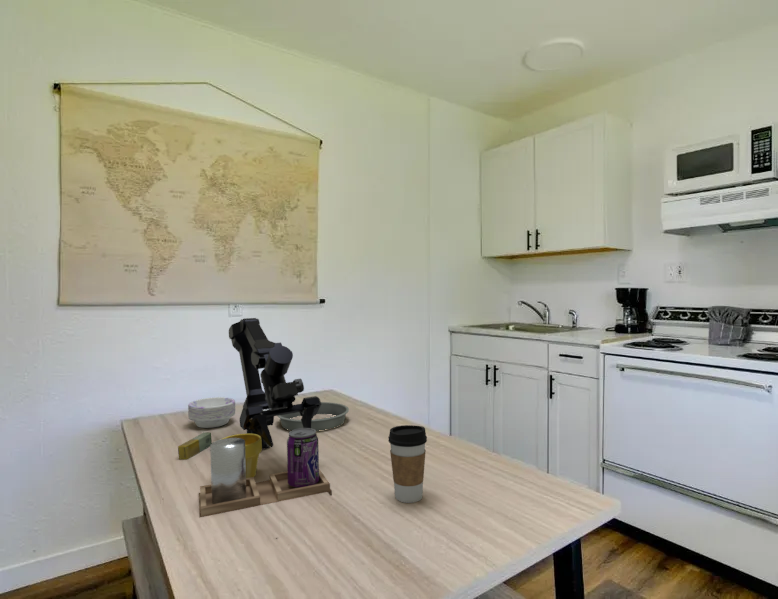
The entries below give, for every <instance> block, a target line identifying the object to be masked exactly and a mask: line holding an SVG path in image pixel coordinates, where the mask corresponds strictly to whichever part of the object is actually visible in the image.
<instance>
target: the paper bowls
mask: <svg viewBox="0 0 778 599" xmlns="http://www.w3.org/2000/svg"><path fill="white" fill-rule="evenodd" d="M187 406H188V407H187V410H188V412H187V413H188V414H187V416H188V419H189V420H191V421H193V422H194V424H195V425H196V426H197V427H199V428H202V429H212V428H214V429H215V428H220V427H222V426H225V425H226V424H228V423H229V421H230V419H231V418H232V417H234V416H235V415H236V400H235V399H233V398H231V397H224V396H223V397H221V396H220V397H219V396H218V397H207V398H199V399H196V400H193V401H191V402H189V403H188V405H187Z"/></svg>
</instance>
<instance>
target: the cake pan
mask: <svg viewBox="0 0 778 599" xmlns="http://www.w3.org/2000/svg"><path fill="white" fill-rule="evenodd" d="M349 410H350V409H349V407H348V406H346V405H345V404H342V403H338V402H330V401H329V402H325V401H321V406H320V408H319V410H318V412H317V414H316V415H327V414H332V415H331V416H333V415H336V416H334V417H331V416H329V417H330V418H326V417H323V418H324V419H320V418H314V419H315V420H312V421H311V429H315V430H316V431H317V432H320V431H319V430H324V431H326V430H325V429H329V430H331V429H330V428H333V429H335V428H334V427H336V428H338V427H340V426H342V425H343V424H344V423H345V420H346V415H347V414H348V413H349ZM297 416H299V417H302V416H301V415H300V412H296V413H291V414H285V415H279V416H277V417H278V418H279V421H280V423H281V427H282V428H285V429H284V430H287V429H288V431H290V430H295V429H299V428H303V425H302V421H301V419H295V418H297ZM293 417H295V418H293ZM290 418H291V419H290ZM341 424H342V425H341ZM339 425H340V426H339ZM337 426H338V427H337Z"/></svg>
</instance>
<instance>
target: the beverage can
mask: <svg viewBox="0 0 778 599" xmlns="http://www.w3.org/2000/svg"><path fill="white" fill-rule="evenodd" d="M319 455H320V454H319V437H318V435H317V432H316V430H315V429H311V428H299V429H295V430H292V431H290V430H289V432H288V438H287V440H286V460H287V462H286V465H287V466H286V467H287V470H286V471H288V484H289V485H290V486H293V487H295V488H300V487H305V486H311V485H314V484H316V483H317V482H318V481H319V469H320V464H319V462H320V460H319V458H320V457H319Z"/></svg>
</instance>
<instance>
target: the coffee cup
mask: <svg viewBox="0 0 778 599" xmlns="http://www.w3.org/2000/svg"><path fill="white" fill-rule="evenodd" d="M427 438H428V437H427V432H426V428H425V427H424V426H422V425H397V426H393V427H392V428H390V429H389V434H388V443H389V444H390V451H389V453H390V461H391V462H390V463H391V471H392V479H393V485H394V488H393V489H394V496H395V499H396V500H397V501H399V502H400V503H401V502H402V503H405V504H406V503H407V504H408V503H409V504H410V503H411V504H413V503H417V502H419V501H421V499H422V498H423V492H424V491H423V490H424V476H425V463H426V449H425V448H426V443H427V441H428V439H427Z"/></svg>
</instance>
